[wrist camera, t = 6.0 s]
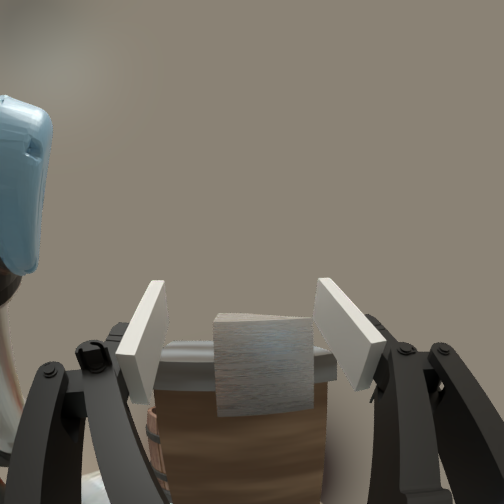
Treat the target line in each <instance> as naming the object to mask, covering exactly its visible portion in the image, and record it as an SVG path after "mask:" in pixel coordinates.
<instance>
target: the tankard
mask: <svg viewBox="0 0 504 504" xmlns="http://www.w3.org/2000/svg"><path fill="white" fill-rule="evenodd" d="M146 434H147V436H148V442H149V449H150V457H151V461H150V464H151V466H152V469H153V471H154V473H155V475H156V477H157V479H158V481H159V483H160V485H161V487H162V489H163V491H164V493H165V495H166V497H167V499H168V501H169V503H173V502H172V498H171V494H170V489H169V485H168V480H167V476H166V471H165V466H164V460H163V455H162V449H161V443H160V437H159V430H158V423H157V415H156V407H155V406H154V407H151V408H149V409H148V414H147V424H146Z"/></svg>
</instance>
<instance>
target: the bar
mask: <svg viewBox="0 0 504 504" xmlns="http://www.w3.org/2000/svg"><path fill="white" fill-rule="evenodd" d="M213 339H214V340H213V342H214V366H215V385H216V402H217V417H233V416H252V415H265V414H276V413H285V412H293V411H300V410H307V409H313V408H314V345H313V318H308V317H289V316H288V317H287V316H271V315H258V314H245V313H218V315H217V316H216V318H215V320H214V321H213Z"/></svg>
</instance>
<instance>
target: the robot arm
mask: <svg viewBox="0 0 504 504" xmlns="http://www.w3.org/2000/svg"><path fill="white" fill-rule="evenodd" d="M52 136H53V126H52V122H51V119H50V117H49V115H48V114H47V113H46V111H44V110H43V109H41V108H39V107H36V106H34V105H31V104H28V103H25V102H22V101H19V100H17V99H14V98H12V97H10V96H7V95H0V466H1V467H9V468H8V474H7V481H6V484H5V483H4V482H3V481H2V480H1V478H0V504H81V470H82V451H83V439H84V429H85V420H86V417H88V422H89V427H90V432H91V437H92V442H93V446H94V450H95V454H96V458H97V462H98V466H99V469H100V473H101V476H102V480H103V483H104V486H105V489H106V492H107V495H108V498H109V500H110V503H111V504H170V503H169V501H168V499H167V497H166V495H165V493H164V491H163V489H162V487H161V485H160V483H159V481H158V479H157V477H156V475H155V473H154V471H153V469H152V466H151V464H150V462H149V460H148V457H147V455H146V453H145V450H144V448H143V445H142V443H141V440H140V438H139V435H138V433H137V430H136V427H135V424H134V422H133V419H132V416H131V413H130V410H129V407H128V405H127V400H128V396H130V399H131V401H132V403H135V404H144V405H149V404H150V400H151V395H152V391H153V386H154V382H155V377H156V373H157V369H158V365H159V360H160V356H161V352H162V348H163V344H164V341H165V336H166V333H167V329H168V325H169V316H168V308H167V300H166V290H165V281H161V280H160V281H159V280H156V281H155V280H154V281H153V280H152V281H151V283H150V284H149V286H148V288H147V290H146V292H145V294H144V296H143V298H142V300H141V302H140V304H139V305H138V307H137V310H136V311H135V313H134V316H133V317H132V319H131V322H130V323H122V322H119V323H118V324H117V325H115V326H114V327H113V328H112V329H111V331H110V333H109V336H108V337H107V338H106V341H105V342H102V341H98V340H89V341H86V342H83V343H82V344H80V345H79V346H78V347H77V348H76V351H75V354H76V357H77V360H78V362H79V365H80V367H81V369H80V370H71V371H65V369H64V367H63V365H62V364H60V363H59V362H48V363H45V364H43V365H42V366H40V367H39V369H38V371H37V373H36V375H35V378H34V381H33V383H32V386H31V388H30V391H29V394H28V397H27V400H26V399H25V398H24V397H23V396H22V393H21V388H20V384H19V380H18V375H17V371H16V365H15V360H14V354H13V347H12V340H11V332H10V323H9V310H8V303H9V302H10V301H11V300H12V298H13V297H14V296H15V295H16V293H17V292H18V289H19V287H20V285H21V281H22V276H23V275H26V274H28V273H29V274H30V273H33V272H34V271H35V270H36V269H37V266H38V260H39V246H40V234H41V218H42V208H43V201H44V192H45V183H46V177H47V170H48V163H49V157H50V150H51V143H52ZM312 318H313V320H314V322H315V324H316V325H317V327H318V329H319V330H320V332H321V334H322V336H323V337H324V339H325V341H326V342H327V344H328V346H329V347H330V349H331V351H332V353H333V354H334V356H335V358H336V360H337V361H338V363H339V365H340V367H341V368H342V370H343V372H344V374H345V375H346V377H347V379H348V380H349V382H350V384H351V386H352V387H353V389H354V391H360V390H364V389H368V388H370V385H371V383H372V380H373V379H374V381H375V382H376V384H377V386H376V388H375V390H374V393H373V395H372V397H371V399H370V403H372V401H373V399H374V440H373V458H372V468H371V478H370V487H369V495H368V502H367V504H453V503H452V494H453V497H454V500H455V503H456V504H504V422H503V420H502V419H501V417H500V415H499V414H498V412H497V411H496V409H495V407H494V406H493V404H492V403H491V401H490V400H489V398H488V397H487V395H486V393H485V392H484V390H483V389H482V388H481V386H480V385H479V383H478V382H477V380H476V379H475V377H474V376H473V375H472V373H471V372H470V370H469V369H468V368H467V366H466V365H465V363H464V362H463V361H462V359H461V358H460V357H459V355H458V354H457V353H456V351H455V350H454V349H453V348H452V347H451V346H449V345H447V344H446V343H439V342H438V343H434V344H433V345H432V347H431V349H430V352H418V351H417V349H416V348H415V347H414V346H413V345H411V344H409V343H405V342H398V341H397V340H396V339H395V338H394V337H393V336H392V335H391V334H390V333H389V332H388V330H386V329H385V327H384V326H383V325H381V323H380V322H379V321H378V320H377V319H376V318H374V317H373V316H371V315H369V314H366V315H364V314H363V313H362V312H361V311H360V310H359V309H358V308H357V307H356V306H355V304H353V302H352V301H351V300H350V299H349V298H348V297H347V296H346V295H345V294H344V292H342V290H341V289H340V288H339V287H338V286H337V285H336V284H335V283H334V282H333V281H332V280H331V278H318V282H317V290H316V297H315V304H314V311H313V317H312ZM441 382H443V384H444V388H443V390H441V389H440V387H439V386H440V384H441ZM438 454H439V456H440V459H441V462H442V464H443V467H444V470H445V473H446V476H447V479H448V482H449V484H450V488H451V491H452V494H451V492H450V491H449V490H448V489H443V488H442V487H441V483H440V469H439V458H438Z"/></svg>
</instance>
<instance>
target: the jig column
mask: <svg viewBox="0 0 504 504" xmlns="http://www.w3.org/2000/svg"><path fill="white" fill-rule="evenodd" d="M334 380H337V360H336V358H335V356H334V354H333V353H332V351H328V350H325V349H322V348H319V347H316V346H314V408H313V409H307V410H300V411H293V412H285V413H276V414H265V415H252V416H233V417H217V402H216V385H215V366H214V342H213V341H173V342H171V343H169V344H168V345H166V346H165V347H163V348H162V352H161V356H160V360H159V365H158V369H157V373H156V377H155V382H154V386H153V389H154V398H155V407H156V415H157V423H158V430H159V437H160V443H161V449H162V455H163V460H164V466H165V471H166V476H167V480H168V485H169V489H170V494H171V498H172V502H173V504H320V498H321V488H322V479H323V468H324V456H325V441H326V420H327V383H328V381H334Z"/></svg>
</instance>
